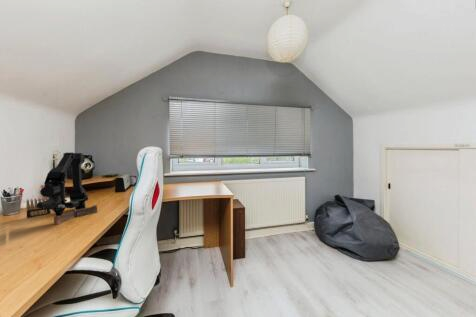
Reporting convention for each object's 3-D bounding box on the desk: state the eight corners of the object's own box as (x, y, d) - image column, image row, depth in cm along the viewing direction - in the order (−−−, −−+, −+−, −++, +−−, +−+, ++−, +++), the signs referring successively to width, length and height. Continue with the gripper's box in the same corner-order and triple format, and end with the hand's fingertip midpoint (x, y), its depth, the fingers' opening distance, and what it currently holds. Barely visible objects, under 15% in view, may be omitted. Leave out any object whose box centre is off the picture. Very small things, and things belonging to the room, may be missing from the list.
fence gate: (54, 224, 110) (53, 216, 109) (71, 217, 120) (71, 210, 120) (57, 224, 110) (56, 217, 109) (74, 217, 120) (74, 210, 120)
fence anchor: (72, 217, 121) (71, 209, 121) (96, 211, 130) (95, 204, 130) (73, 217, 120) (72, 210, 119) (97, 212, 129) (96, 205, 129)
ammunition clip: (26, 218, 121) (24, 199, 120) (27, 217, 122) (25, 199, 121) (50, 214, 127) (48, 196, 126) (50, 213, 129) (49, 196, 128)
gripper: (26, 195, 103) (27, 224, 104) (65, 196, 105) (66, 224, 106) (44, 190, 114) (45, 216, 115) (79, 191, 116) (80, 216, 117)
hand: (59, 218), depth 113 cm, fingers closed
